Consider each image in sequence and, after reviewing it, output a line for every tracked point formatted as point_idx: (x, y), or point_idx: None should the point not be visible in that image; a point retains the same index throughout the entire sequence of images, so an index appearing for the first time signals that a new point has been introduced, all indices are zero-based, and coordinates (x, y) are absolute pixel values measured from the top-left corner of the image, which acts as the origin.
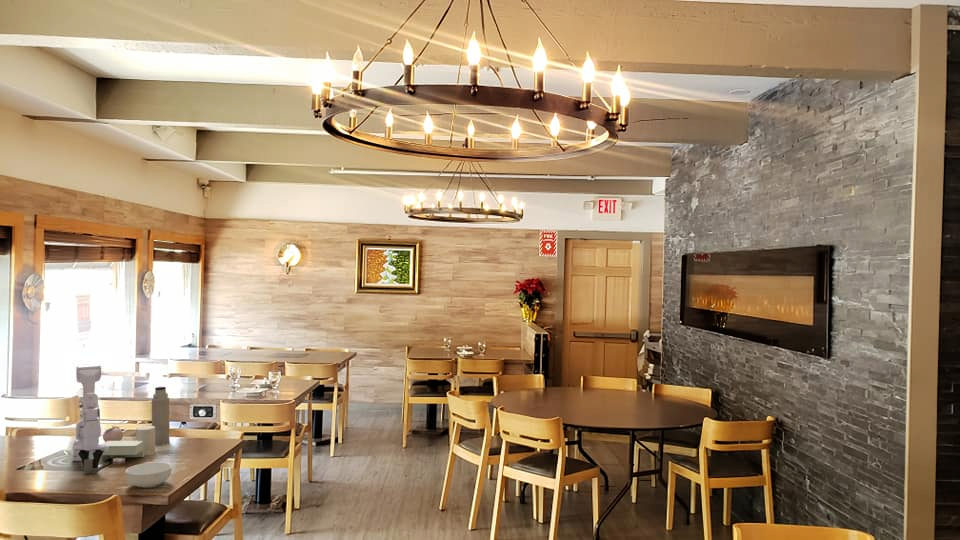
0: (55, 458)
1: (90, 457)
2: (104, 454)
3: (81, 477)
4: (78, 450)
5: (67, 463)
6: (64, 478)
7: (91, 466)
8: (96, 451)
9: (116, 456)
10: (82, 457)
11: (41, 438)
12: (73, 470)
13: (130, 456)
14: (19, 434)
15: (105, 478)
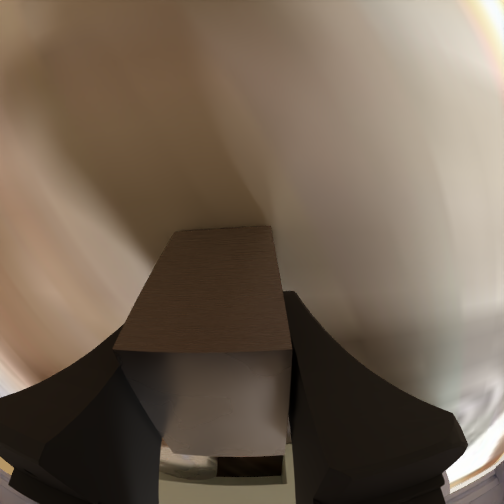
0: (478, 422)
1: (248, 435)
2: (266, 488)
3: (231, 103)
4: (460, 494)
5: (448, 406)
6: (402, 81)
7: (165, 273)
8: (72, 496)
9: (248, 482)
10: (346, 391)
11: (477, 465)
12: (411, 326)
13: (185, 479)
14: (498, 457)
15: (2, 120)
